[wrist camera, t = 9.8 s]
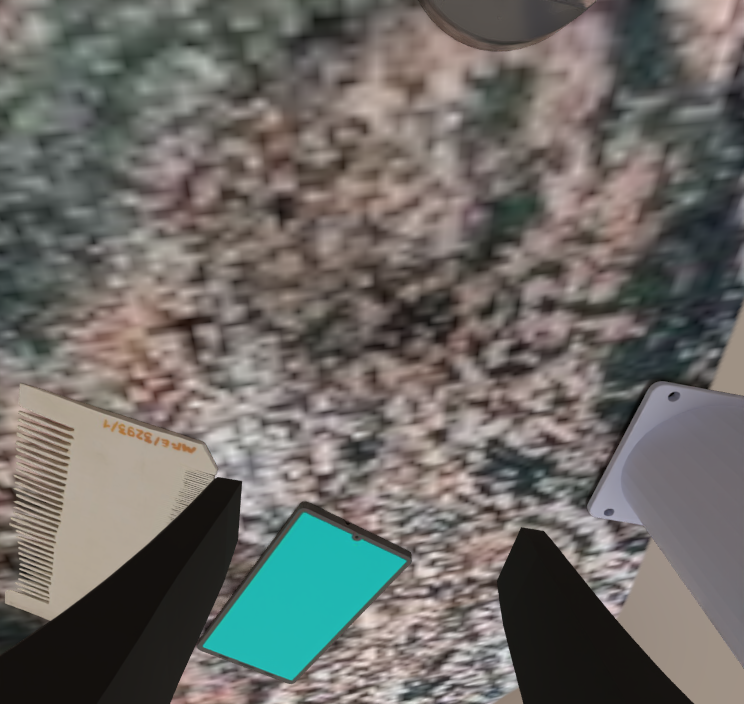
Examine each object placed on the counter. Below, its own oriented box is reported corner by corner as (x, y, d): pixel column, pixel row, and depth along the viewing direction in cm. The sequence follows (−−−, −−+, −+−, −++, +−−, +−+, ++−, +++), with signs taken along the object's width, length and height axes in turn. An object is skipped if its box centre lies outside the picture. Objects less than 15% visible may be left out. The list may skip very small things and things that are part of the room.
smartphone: (195, 648, 28) (301, 506, 22) (200, 635, 29) (304, 494, 23) (293, 686, 29) (415, 560, 24) (295, 672, 30) (414, 548, 25)
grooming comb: (25, 374, 21) (13, 382, 20) (227, 444, 22) (222, 453, 21) (8, 600, 28) (-2, 611, 27) (161, 641, 29) (155, 653, 29)
